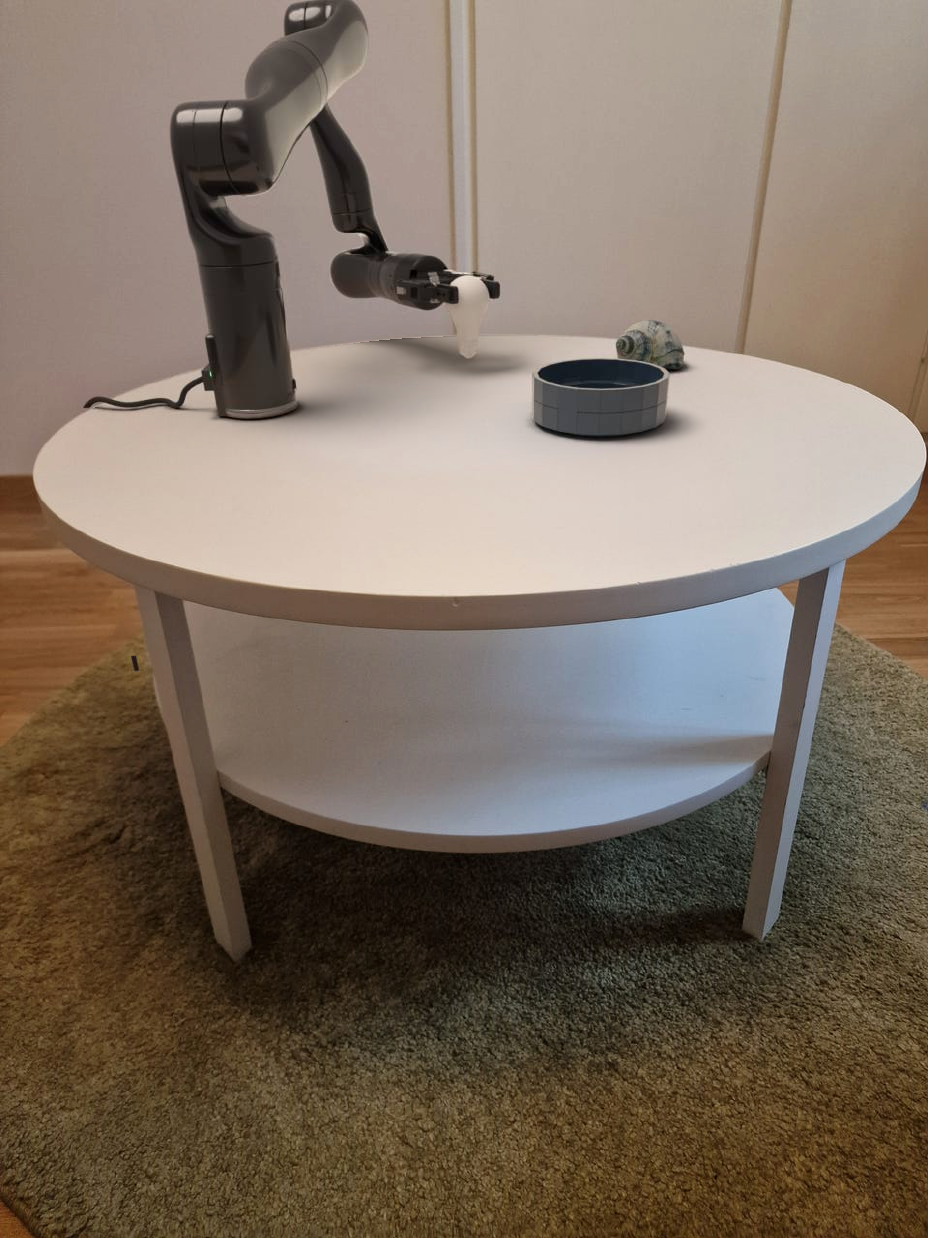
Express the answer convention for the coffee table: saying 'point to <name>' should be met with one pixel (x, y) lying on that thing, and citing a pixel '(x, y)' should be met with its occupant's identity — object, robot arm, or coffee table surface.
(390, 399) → the coffee table surface
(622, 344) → the seashell
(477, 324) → the lightbulb
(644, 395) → the bowl
